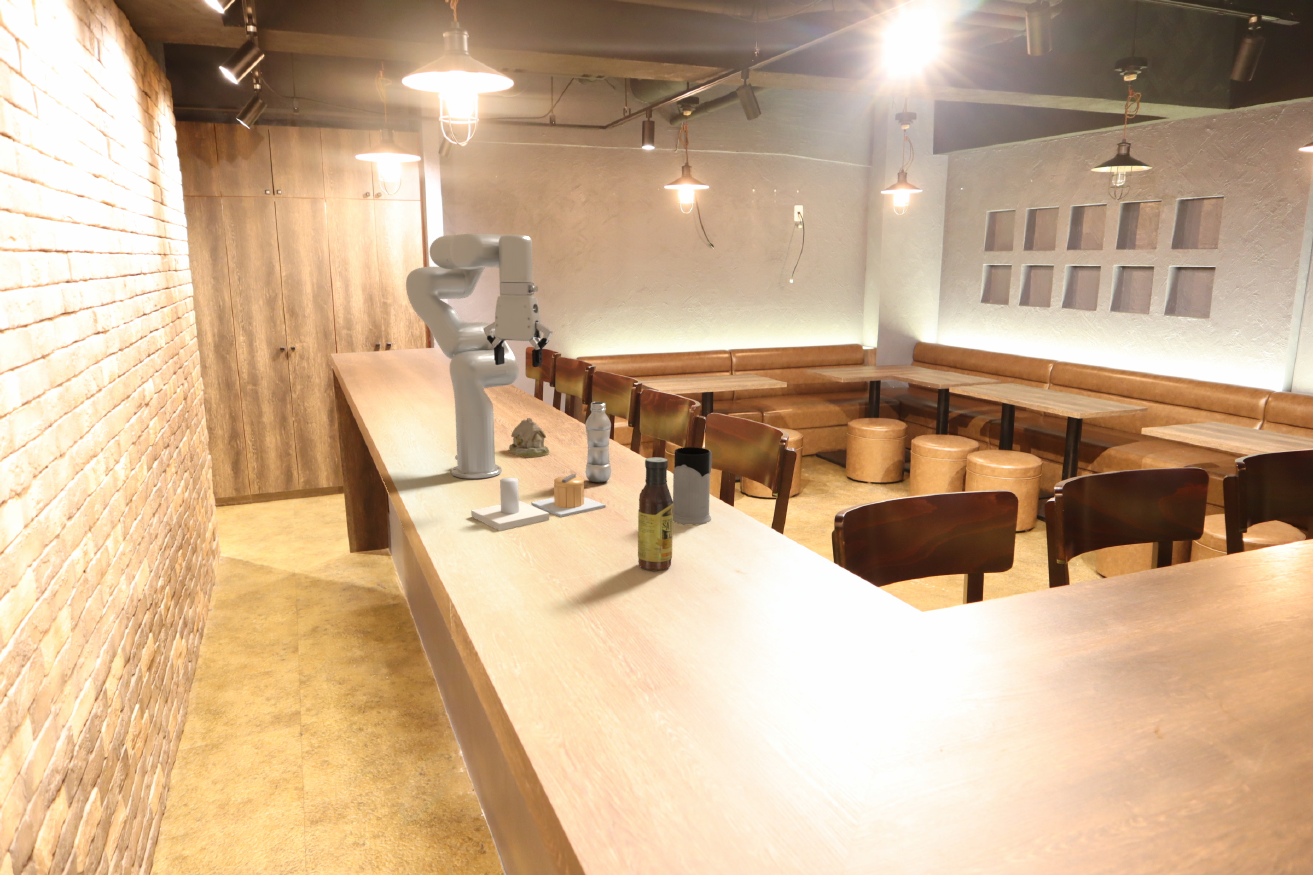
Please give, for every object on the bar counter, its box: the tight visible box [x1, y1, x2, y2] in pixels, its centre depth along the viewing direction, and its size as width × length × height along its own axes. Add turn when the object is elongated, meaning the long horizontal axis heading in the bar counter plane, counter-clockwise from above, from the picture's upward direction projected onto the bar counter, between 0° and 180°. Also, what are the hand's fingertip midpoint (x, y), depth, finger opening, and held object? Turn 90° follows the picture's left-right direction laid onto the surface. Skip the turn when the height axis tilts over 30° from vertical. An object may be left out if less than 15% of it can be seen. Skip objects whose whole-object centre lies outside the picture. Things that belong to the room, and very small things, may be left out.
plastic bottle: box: [584, 401, 612, 483], centre depth 206 cm, size 6×7×20 cm
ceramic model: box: [508, 417, 550, 458], centre depth 239 cm, size 14×11×10 cm
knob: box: [553, 473, 585, 508], centre depth 186 cm, size 7×7×6 cm
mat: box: [530, 496, 607, 518], centre depth 187 cm, size 12×12×1 cm
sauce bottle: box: [637, 456, 674, 572], centre depth 149 cm, size 6×6×20 cm
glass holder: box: [672, 446, 713, 525], centre depth 180 cm, size 9×14×15 cm, turn 152°
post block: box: [470, 477, 550, 531], centre depth 177 cm, size 12×12×8 cm
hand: (518, 365), depth 192 cm, fingers open, 9 cm apart
